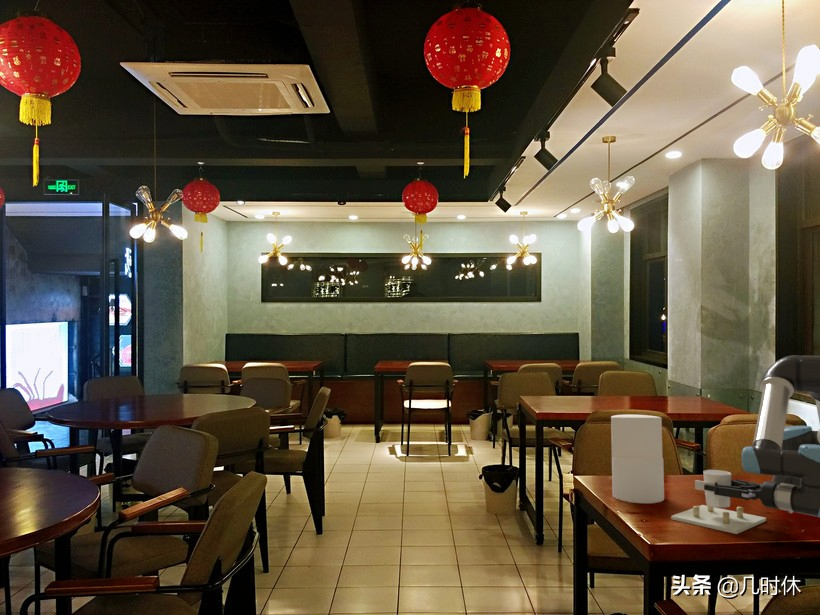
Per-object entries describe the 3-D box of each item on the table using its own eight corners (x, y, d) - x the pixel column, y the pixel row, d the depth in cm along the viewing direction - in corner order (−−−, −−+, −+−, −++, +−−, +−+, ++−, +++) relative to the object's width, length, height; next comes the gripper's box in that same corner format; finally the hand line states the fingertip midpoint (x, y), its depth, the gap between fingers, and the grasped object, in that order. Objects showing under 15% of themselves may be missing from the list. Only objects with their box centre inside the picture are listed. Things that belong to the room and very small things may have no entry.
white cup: (709, 500, 209) (709, 468, 210) (735, 504, 204) (735, 472, 204) (699, 504, 204) (699, 472, 204) (726, 509, 198) (725, 476, 198)
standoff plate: (766, 520, 202) (765, 507, 202) (736, 534, 189) (736, 520, 190) (702, 507, 218) (702, 495, 218) (671, 519, 205) (670, 506, 205)
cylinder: (608, 490, 242) (606, 414, 243) (656, 491, 240) (654, 414, 241) (618, 502, 225) (616, 420, 226) (670, 503, 223) (668, 421, 224)
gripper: (764, 515, 183) (685, 499, 201) (793, 503, 196) (717, 489, 214) (763, 488, 184) (685, 475, 201) (793, 477, 197) (717, 466, 214)
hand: (702, 482), depth 208 cm, fingers closed on white cup, 8 cm apart
